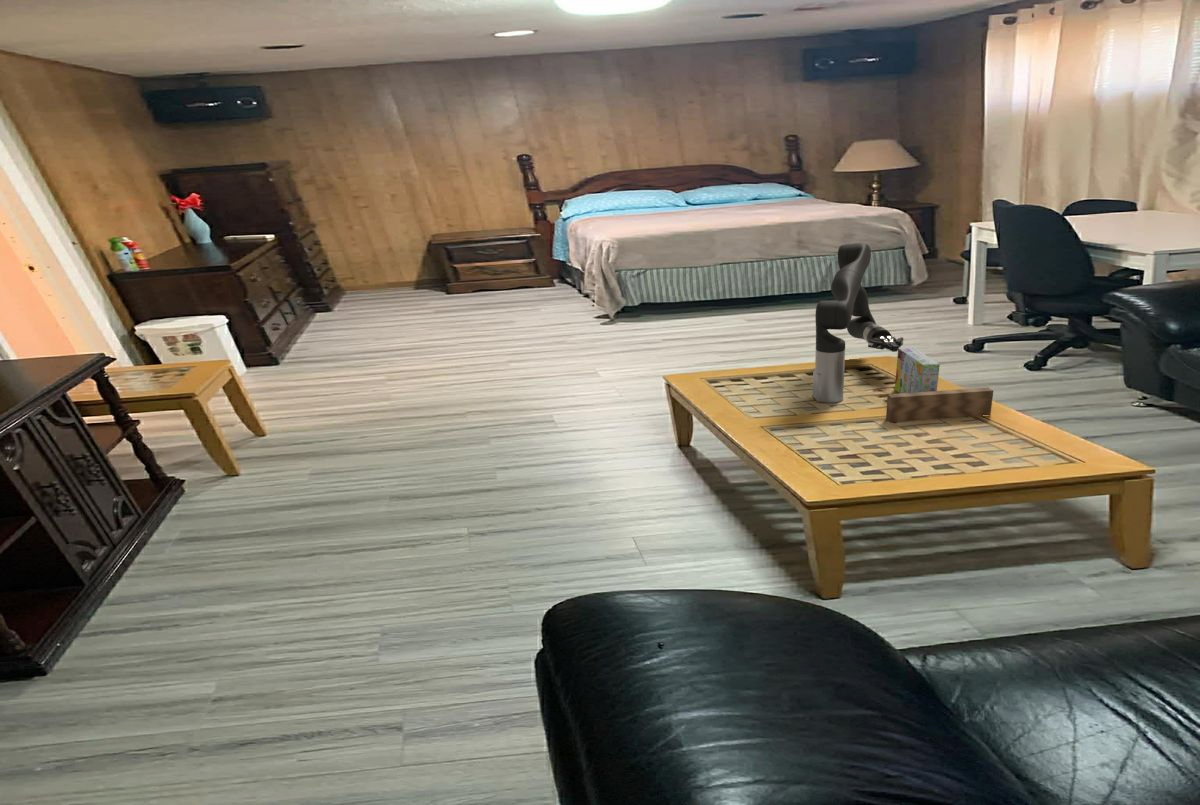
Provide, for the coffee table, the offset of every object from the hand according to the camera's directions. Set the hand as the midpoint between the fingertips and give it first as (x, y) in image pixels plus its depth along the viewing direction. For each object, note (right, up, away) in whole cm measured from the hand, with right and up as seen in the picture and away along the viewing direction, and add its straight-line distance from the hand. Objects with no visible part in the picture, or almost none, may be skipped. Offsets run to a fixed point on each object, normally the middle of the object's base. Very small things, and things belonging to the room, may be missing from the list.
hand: (895, 348), depth 237 cm
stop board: (0, -23, -29) cm, 37 cm away
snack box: (+1, -18, -13) cm, 22 cm away
